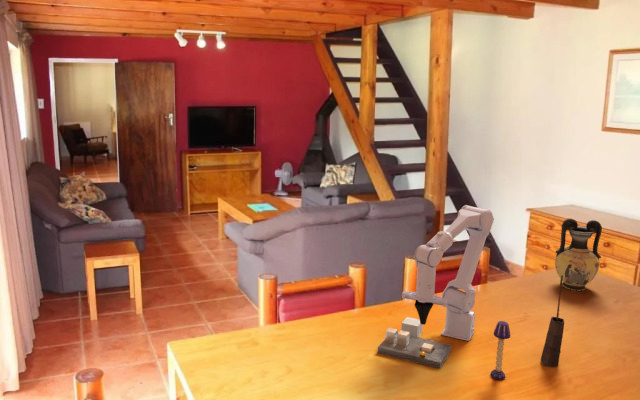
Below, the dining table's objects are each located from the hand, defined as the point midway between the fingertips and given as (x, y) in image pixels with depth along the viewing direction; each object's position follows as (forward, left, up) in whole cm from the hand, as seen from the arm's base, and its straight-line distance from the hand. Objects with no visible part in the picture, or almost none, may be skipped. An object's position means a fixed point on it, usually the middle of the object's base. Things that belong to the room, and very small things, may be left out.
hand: (423, 323), depth 176 cm
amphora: (-40, -87, -9) cm, 96 cm away
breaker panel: (+1, +4, -8) cm, 9 cm away
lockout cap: (+6, -8, -8) cm, 13 cm away
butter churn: (-38, -9, -9) cm, 40 cm away
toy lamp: (-25, +6, -9) cm, 27 cm away
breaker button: (-3, +4, -8) cm, 10 cm away
